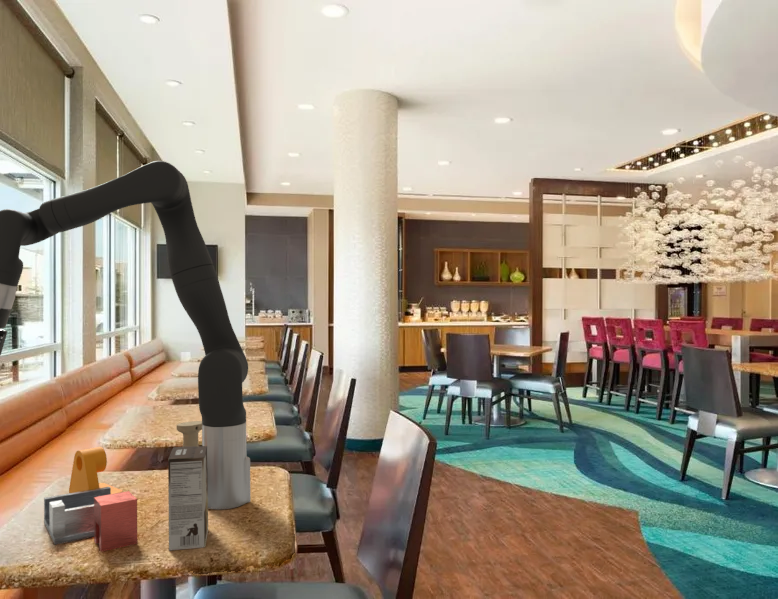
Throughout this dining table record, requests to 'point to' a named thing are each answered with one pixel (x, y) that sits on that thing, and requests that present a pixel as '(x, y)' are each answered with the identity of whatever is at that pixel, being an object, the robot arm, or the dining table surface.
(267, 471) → the dining table surface
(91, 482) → the bracket
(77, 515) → the bracket
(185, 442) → the handle
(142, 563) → the dining table surface
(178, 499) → the coffee box
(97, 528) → the block
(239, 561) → the dining table surface
